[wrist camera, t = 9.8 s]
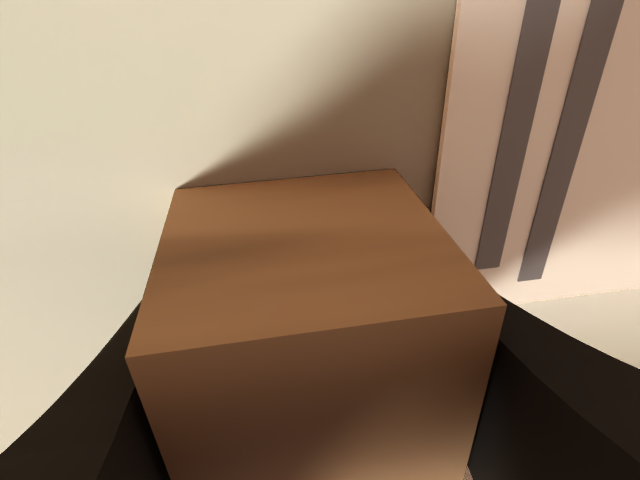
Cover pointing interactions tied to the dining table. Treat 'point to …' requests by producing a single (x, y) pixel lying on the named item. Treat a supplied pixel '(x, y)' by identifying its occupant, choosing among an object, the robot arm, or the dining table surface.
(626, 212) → the flyer
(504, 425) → the robot arm
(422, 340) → the walnut cube
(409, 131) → the dining table surface
